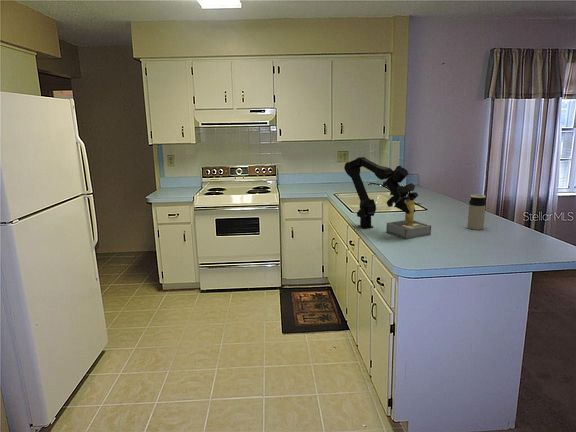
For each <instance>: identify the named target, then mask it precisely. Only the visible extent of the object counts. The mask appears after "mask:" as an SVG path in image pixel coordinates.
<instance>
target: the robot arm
mask: <svg viewBox="0 0 576 432" xmlns="http://www.w3.org/2000/svg"><path fill="white" fill-rule="evenodd" d="M343 167H344V168H343V169H344V171H345V173H346V174H347V175H348V177H350V178H351V180H352V183H353V185H354V189H355V191H356V193H357V195H358V199H359V210H358V211H357V212H356V216H357V217H358V218H359V224H358V225H357V227H359V228H361V229H369V228H370V229H371V228H374V225H372V217H374V216H375V213H376V211H377V204H376V203H375V200H374V199H373V198H370V197H369V195H368V193H367V190H366V188H365V185H364V182H363V179H362V177H361V168H362V167H363V168H365V169H367V170H368V171H370V172H372V173H374V175H375V177H376V178H378V179H379V180H381V181H382V180H385V181H382V184H381V185H382V188H384V187H385V188H387V189H388V190H389V196H391V197H390V198H389V199H388V200H387V201H386V206H387V207H388V208H392V207H394V208H396V209H398V210H400V211H402V212H404V213H405V212H406V213H407V214H409V213H410V212H409V210H408V208H407V206H406V200H414V201H415V199H416V198H417V197H418V196H419V194H418V192H416V191H415V188H416V186H415V184H414V183H412V182H410V183H408V184H407V185H404V186H403V185H400V184H399V183H402V182H403V181H404V180H405V179H406V178H407V176H408V175H409V171H408V170H407V169H406V168H404V167H402V166H401V165H397V166H396V167H395V168H394V170H392V168H390V167H388V166H382V165H379V164H377V163H375V162H374V161H372V160H370V159H368V158H367V157H364V156H359V157H356V158H355V159H353V160H351V161H347V162H345V164H344V166H343ZM414 213H416V209H415V207H414Z"/></svg>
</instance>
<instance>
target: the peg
mask: <svg viewBox="0 0 576 432" xmlns="http://www.w3.org/2000/svg"><path fill="white" fill-rule="evenodd" d="M406 206H407V208H408V210H409V212H410V213H409V214H407V213H406V212H404V213H405V217H404V220H405V225H406V226H413V220H414V217H415V216H414V213H415V212H414V208H415V199H414V200H406Z"/></svg>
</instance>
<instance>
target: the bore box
mask: <svg viewBox="0 0 576 432" xmlns="http://www.w3.org/2000/svg"><path fill="white" fill-rule="evenodd" d="M385 230H386V233H388V232H389V234H391V235H393V234H394V236H396V235H397V237H400V238H401V237H402V238H401V239H404V240H409V238H410V239H414V238H421V237H427V236H431V233H432V225H430V224H428V223H427V224H426V223H424V222H421V221H417V220H414V219H413V226H406V225H405V219H403V220H397V221H391V222H390V221H389V222H386V229H385Z"/></svg>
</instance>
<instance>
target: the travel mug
mask: <svg viewBox="0 0 576 432" xmlns="http://www.w3.org/2000/svg"><path fill="white" fill-rule="evenodd" d="M485 199H486V195H483V194H471V195H470V200H469V201H468V202H469V204H468V216H467V228H468V229H470V230H473V231H480V230H481V231H482V230H484V226H485V214H486V202H487V201H486V200H485Z"/></svg>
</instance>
